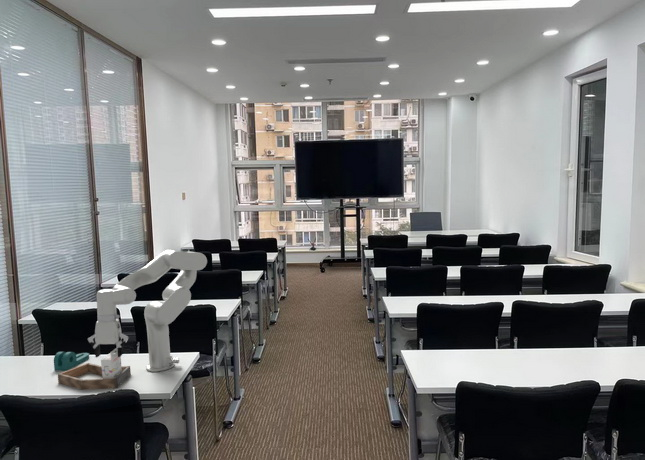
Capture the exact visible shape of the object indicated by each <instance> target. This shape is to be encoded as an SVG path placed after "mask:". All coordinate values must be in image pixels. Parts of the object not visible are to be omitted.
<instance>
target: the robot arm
mask: <svg viewBox="0 0 645 460" xmlns="http://www.w3.org/2000/svg"><path fill="white" fill-rule="evenodd" d="M207 264H208V259H207V257H206V255H205V254H203V253H202V252H196V251H180V250H173V249H166V250H164V251H161V253H159V254H158V255H157V256H156V257H154V258H153V259H152V260H151V261H149V262H148V263H147V264H146V265H145V266H143V267H142V268H140V269H138V270H136V271H134V272H132V273H130V274H129V275H127V276H125V277H124V278H122V279H121V280H120V281H119V282H117V283H116V284H115V285H114V286H113V287H112V288H104V289H103V288H102V289H99V290H98V291H97V292H96V312H97V321H96V322H95V327H94V328H95V329H94V334H93V335H91V336H90V337H88V338H87V341H88V343H89V345H91V347H92V348H93V350H94V355H95V356H94V357H95V358H99V357H100V356H101V347H100V345H116V347H119V348H118V349H117V350H118V357H120V356H121V357H122V356H123V354H124V346H125V345H126V344H127V342H128V340H129V338H130V337H129V336H128V335H126V334H124V333H122V327H121V323H120V319H119V318H120V314H118V312H117V305H118V306H122V305H125V306H126V305H131V304H132V303H133V302H134V301H135V300H136V297H137V293H136V291H135V290H136V289H138V288H140V287H143V286H145V285H149V284H150V285H151V284H152V283H155V282H157V281H158V280H159V279H160V278H161V277H163V276H164V275H165V274H166V273H167V272H169V271H170V270H171V269H175V270H180V272H179V273H178V274H177V276H176V277H175V278H174V279H173V280H172V281H171V282H170V283H169V285H167V286H166V287H165V289H164V290H163V291H162V294H161V296H162V300H163V301H164V302H163V301H159V300H154V301H150V302H149V303H147V305H146V306H145V308H144V310H143V311H144V313H143V315H144V319H145V320H144V321H145V325H146V333H147V334H146V335H147V346H148V347H147V348H148V361H149V363H148V364H147V365H146V366H145V367H146V370H147V371H148V372H152V373H154V372H155V373H157V372H163V371H167V370H170V369H171V368H173V367H174V366H175V364H179V363H180V358H179V357H173V354H171V347H170V345H171V344H170V336H169V335H170V331H169V330H170V329H169V325H170V324H172V322H174V321H175V320H176V318H177V317H178V316H179V315H180V314H181V313H182V312H183V311H184V310H185V308H186V307H187V306H188V305H189V304H190V302H191V299H192V298H191V297H192V293H191V291H190V289H191V287H192V286H193V285H194V283H196V280H197V273H198V272H197V271H201V270H203V269H204V268H206V266H207ZM122 339H123V340H122Z"/></svg>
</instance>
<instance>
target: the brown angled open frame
mask: <svg viewBox="0 0 645 460" xmlns="http://www.w3.org/2000/svg"><path fill="white" fill-rule="evenodd" d="M121 366H122V372H121V373H120V374H119V375H118V376H117V377H116V378H108V379H103V378H88V379H82V378H78V377H79V376H82V375H84V374H87V373H90V374H94V375H98V376H102V367H101V365H99V364H95V363H94V364H93V363H90V362H87V363H84V364H81V365H77V366H75V367H73V368H71V369H69V370H67V371H62V372H59V373H57V382H58V384H61V385H64V386H67V387H72V388H75V389H79V390H81V391H82V390H83V391H84V390H105V389H118V388H119V387H120V386H121V385H122V384H123V383H124V382H125V381H127V379H128V378H129V377H130V376H131V373H132V372H131V365H124V366H123V365H121Z"/></svg>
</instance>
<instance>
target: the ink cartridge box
mask: <svg viewBox="0 0 645 460" xmlns="http://www.w3.org/2000/svg"><path fill="white" fill-rule="evenodd" d="M118 348H119V347H118V346H116V348H114V349H113V350H112V351H110V353H108V354H106V355H105V356H104V357H103V358H101V359H100V363H101V365H100V366H101V367H102V379H108V378H116V377H117V376H118V375H119V374H120V373H121V372H122V366H123V365H122V355H121V356H120V357H118V350H117V349H118Z"/></svg>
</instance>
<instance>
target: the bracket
mask: <svg viewBox="0 0 645 460" xmlns="http://www.w3.org/2000/svg"><path fill="white" fill-rule="evenodd" d="M53 357H54V358H53V367H54V371H62V372H65V371H68V370H70V369H73V368H76V367H78V366H79V365H80V364H82V363H84V362H85V361H88V360H89V359H90V353H89V352H81V353H75V352H74V351H67V352H66V351H58V352H56V354H55V355H54V356H53Z"/></svg>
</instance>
